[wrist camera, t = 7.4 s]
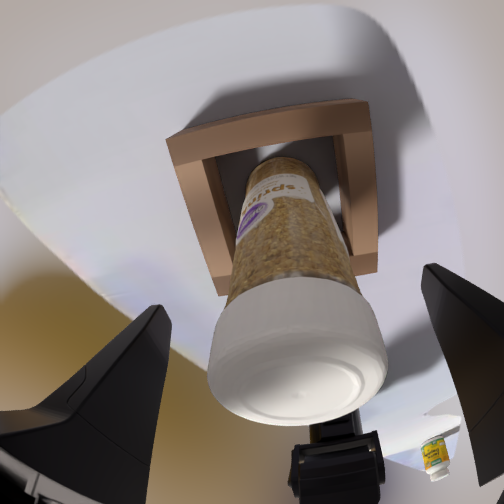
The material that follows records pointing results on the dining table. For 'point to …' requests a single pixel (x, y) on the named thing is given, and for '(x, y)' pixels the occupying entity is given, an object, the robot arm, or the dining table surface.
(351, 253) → the walnut socket
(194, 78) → the dining table surface
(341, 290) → the sprinkles bottle
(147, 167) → the dining table surface
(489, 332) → the robot arm
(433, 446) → the supplement bottle
